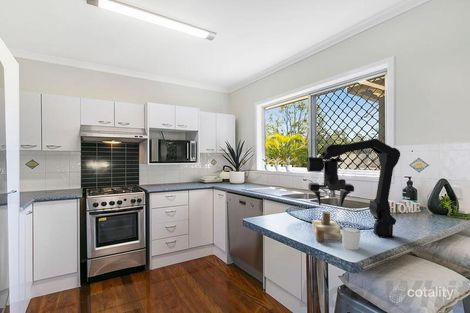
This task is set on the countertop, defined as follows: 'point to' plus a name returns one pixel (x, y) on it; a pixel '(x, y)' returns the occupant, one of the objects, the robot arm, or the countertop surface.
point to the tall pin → (326, 218)
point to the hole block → (327, 229)
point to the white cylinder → (351, 238)
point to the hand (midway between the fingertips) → (330, 205)
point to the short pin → (319, 235)
